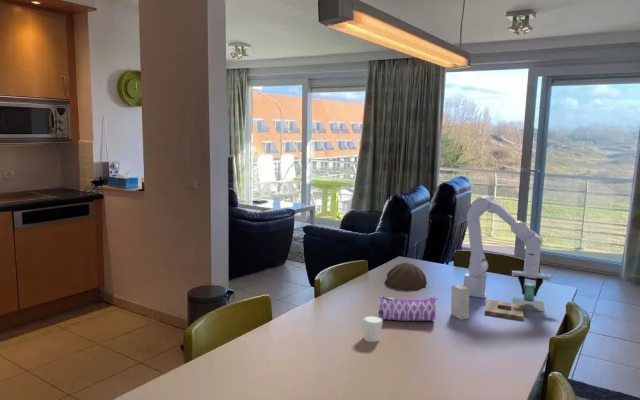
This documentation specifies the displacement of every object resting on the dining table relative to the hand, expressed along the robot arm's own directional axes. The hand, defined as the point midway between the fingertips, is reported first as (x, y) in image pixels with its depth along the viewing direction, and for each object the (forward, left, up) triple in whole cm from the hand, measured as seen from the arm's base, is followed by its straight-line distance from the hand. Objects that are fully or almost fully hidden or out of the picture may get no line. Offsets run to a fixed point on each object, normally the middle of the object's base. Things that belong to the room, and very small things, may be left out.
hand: (529, 294), depth 197 cm
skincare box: (-25, -26, -5) cm, 36 cm away
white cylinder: (-50, -60, -5) cm, 78 cm away
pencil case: (-43, -37, -5) cm, 57 cm away
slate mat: (0, 0, -4) cm, 4 cm away
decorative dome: (-53, +6, -5) cm, 54 cm away
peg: (0, 0, -2) cm, 2 cm away
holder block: (-9, -12, -4) cm, 16 cm away
